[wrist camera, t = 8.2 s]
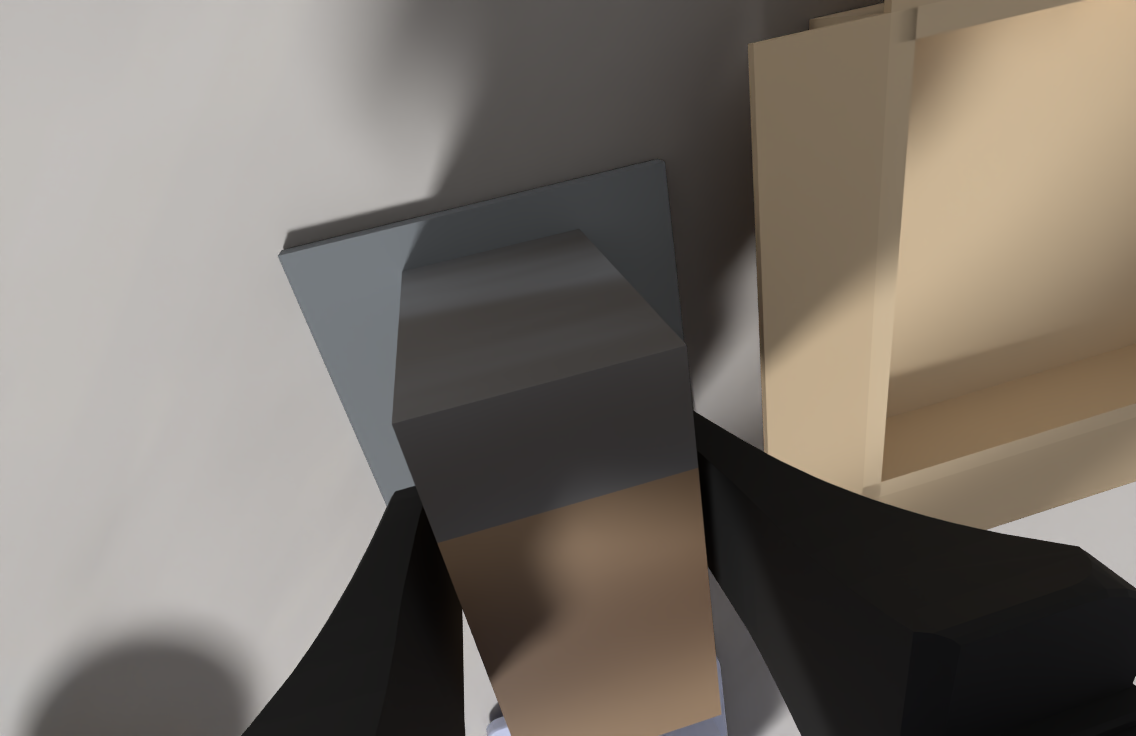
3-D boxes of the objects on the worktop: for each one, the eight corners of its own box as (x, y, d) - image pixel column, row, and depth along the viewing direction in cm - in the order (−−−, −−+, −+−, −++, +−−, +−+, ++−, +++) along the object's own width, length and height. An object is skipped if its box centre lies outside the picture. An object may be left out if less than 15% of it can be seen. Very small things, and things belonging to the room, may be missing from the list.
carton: (1235, 379, 21) (1331, 417, 18) (732, 535, 19) (773, 598, 17) (1490, -268, 13) (1708, -333, 11) (682, -108, 11) (746, -148, 9)
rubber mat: (697, 508, 18) (702, 517, 18) (428, 589, 17) (428, 601, 17) (658, 158, 13) (665, 161, 13) (281, 249, 12) (277, 255, 12)
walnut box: (627, 510, 17) (721, 714, 12) (492, 550, 17) (527, 779, 11) (579, 228, 13) (687, 345, 8) (402, 271, 13) (391, 424, 7)
